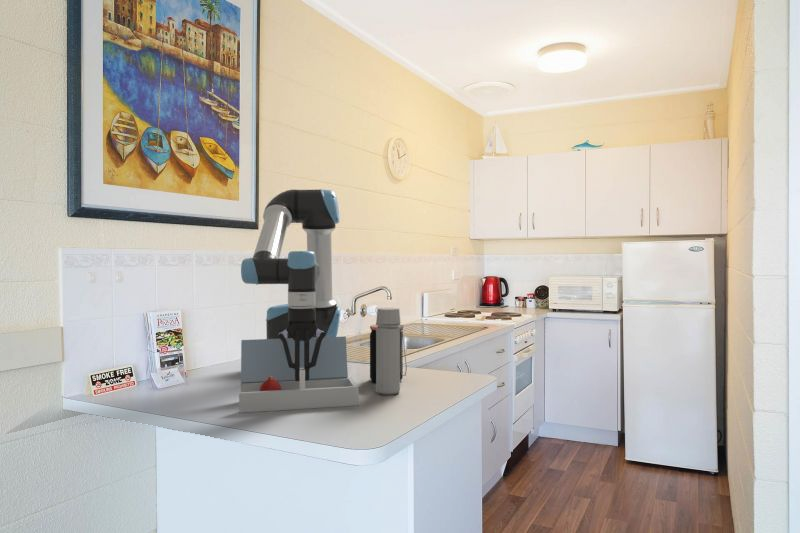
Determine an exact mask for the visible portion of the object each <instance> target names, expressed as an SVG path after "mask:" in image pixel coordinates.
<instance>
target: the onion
mask: <svg viewBox="0 0 800 533" xmlns="http://www.w3.org/2000/svg"><path fill="white" fill-rule="evenodd" d="M275 390H282V389H281V386H280V384H279V383H278V382H277V381H276V380H274V379H273V377H272V376H269V377H268V380H266V381H265V382H264V383H263V384H262V385H261V387H260V391H275Z"/></svg>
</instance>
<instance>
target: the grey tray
mask: <svg viewBox="0 0 800 533" xmlns="http://www.w3.org/2000/svg"><path fill="white" fill-rule="evenodd" d="M263 383H264V382H260V383H241V382H240V391H239V393H238V400H239V401H238V409H239V410H238V413H239V414H242V413H243V414H244V413H256V412H257V413H258V412H260V413H261V412H271V411H272V412H274V411H290V410H305V409H306V410H307V409H308V410H309V409H321V408H335V407H351V406H354V407H355V406H359V405H360V402H359V401H360V398H359V397H360V396H359V395H360V394H359V393H360V392H359V391H360V389H359V388H360V386H359V385H358V384H357V383H356V381H355V380H354V378H353V377H348V378H338V379H319V380H309V381H305V389H299V381H280V382H278V383H279V384H280V386H281V389H282V390H275V391H260V387H261V385H262V384H263Z"/></svg>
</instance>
